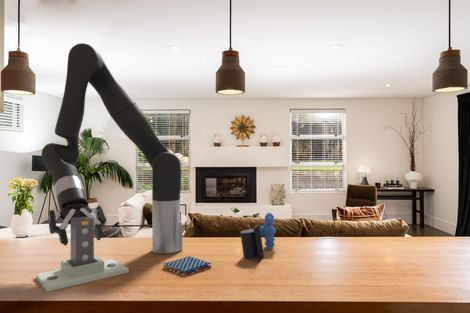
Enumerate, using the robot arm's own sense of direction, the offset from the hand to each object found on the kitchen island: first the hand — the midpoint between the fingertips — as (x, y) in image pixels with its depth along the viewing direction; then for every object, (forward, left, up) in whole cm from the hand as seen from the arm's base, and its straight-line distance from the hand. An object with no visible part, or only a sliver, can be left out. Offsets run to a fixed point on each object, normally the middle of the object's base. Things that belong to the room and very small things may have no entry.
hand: (83, 241), depth 90 cm
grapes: (-58, +4, -9) cm, 59 cm away
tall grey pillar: (0, -1, -8) cm, 8 cm away
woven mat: (-26, +9, -10) cm, 29 cm away
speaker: (-47, +11, -9) cm, 49 cm away
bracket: (0, 0, -9) cm, 9 cm away
